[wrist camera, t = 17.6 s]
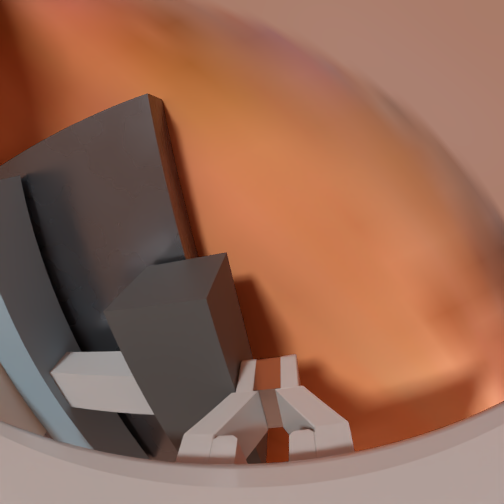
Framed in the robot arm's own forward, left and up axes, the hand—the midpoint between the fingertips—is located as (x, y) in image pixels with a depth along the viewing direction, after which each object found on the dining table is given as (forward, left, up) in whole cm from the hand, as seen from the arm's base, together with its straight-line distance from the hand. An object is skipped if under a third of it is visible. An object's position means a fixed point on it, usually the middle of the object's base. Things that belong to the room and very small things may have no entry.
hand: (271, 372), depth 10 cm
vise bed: (+12, 0, -4) cm, 13 cm away
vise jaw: (+7, 0, -2) cm, 7 cm away
